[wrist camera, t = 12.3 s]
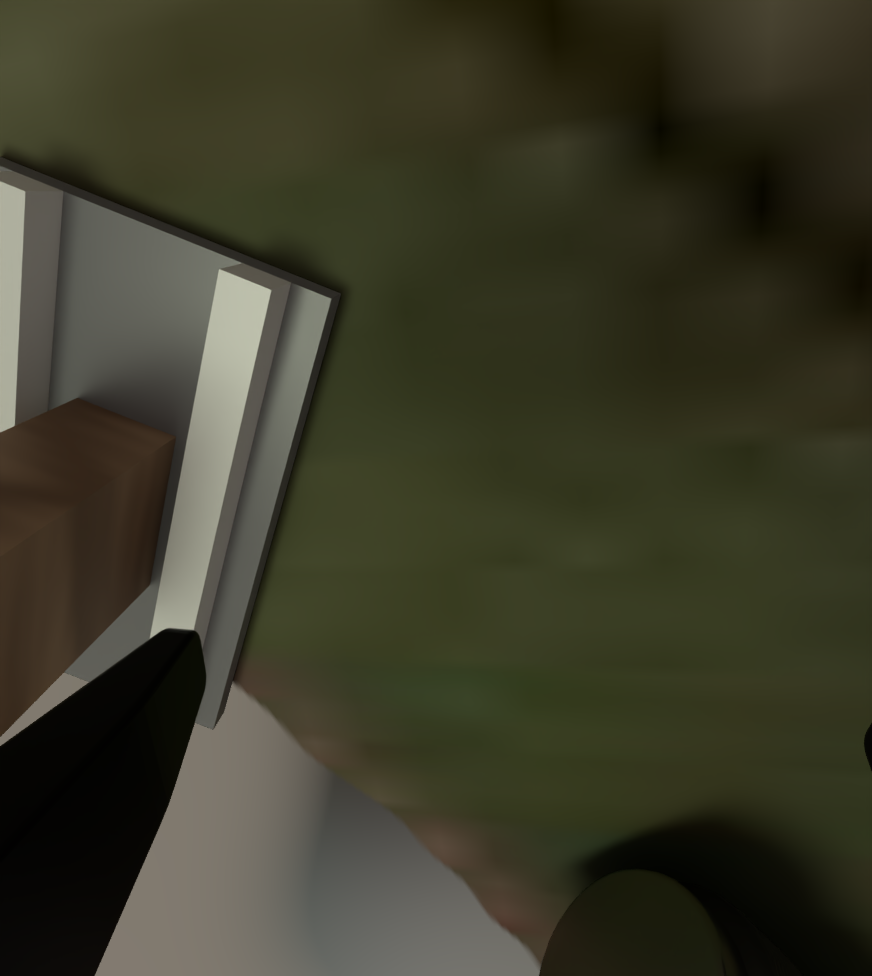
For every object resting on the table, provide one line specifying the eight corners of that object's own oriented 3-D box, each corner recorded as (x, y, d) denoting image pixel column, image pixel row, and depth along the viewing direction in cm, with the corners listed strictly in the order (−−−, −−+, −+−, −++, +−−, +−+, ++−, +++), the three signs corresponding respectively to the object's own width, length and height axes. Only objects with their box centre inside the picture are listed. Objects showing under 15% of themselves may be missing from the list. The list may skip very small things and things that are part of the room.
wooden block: (176, 436, 21) (-93, 619, 12) (149, 585, 24) (-84, 821, 15) (60, 390, 21) (-297, 541, 12) (47, 545, 24) (-247, 759, 15)
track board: (341, 293, 19) (315, 307, 17) (223, 712, 28) (195, 758, 26) (0, 156, 19) (-73, 152, 17) (-14, 620, 28) (-63, 659, 25)
